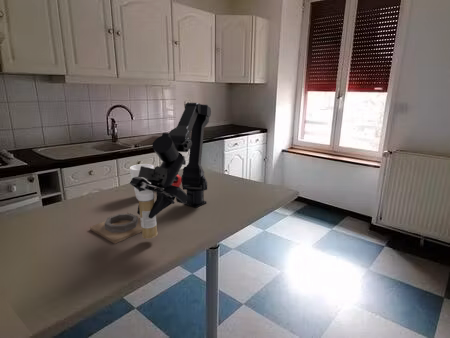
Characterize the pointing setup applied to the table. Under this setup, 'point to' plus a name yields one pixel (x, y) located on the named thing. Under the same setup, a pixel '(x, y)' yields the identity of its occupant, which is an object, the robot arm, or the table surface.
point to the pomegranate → (178, 182)
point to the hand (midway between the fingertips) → (144, 215)
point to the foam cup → (135, 172)
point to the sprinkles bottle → (147, 214)
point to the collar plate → (116, 235)
